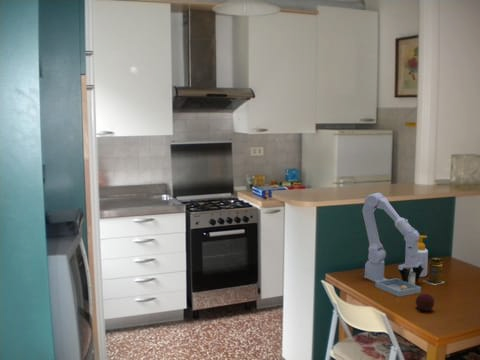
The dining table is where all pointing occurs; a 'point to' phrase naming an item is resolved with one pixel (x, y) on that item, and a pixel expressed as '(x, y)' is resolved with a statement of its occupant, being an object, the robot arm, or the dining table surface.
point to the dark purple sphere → (425, 302)
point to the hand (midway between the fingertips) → (410, 282)
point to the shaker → (411, 277)
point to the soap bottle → (422, 256)
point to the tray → (397, 287)
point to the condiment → (435, 271)
